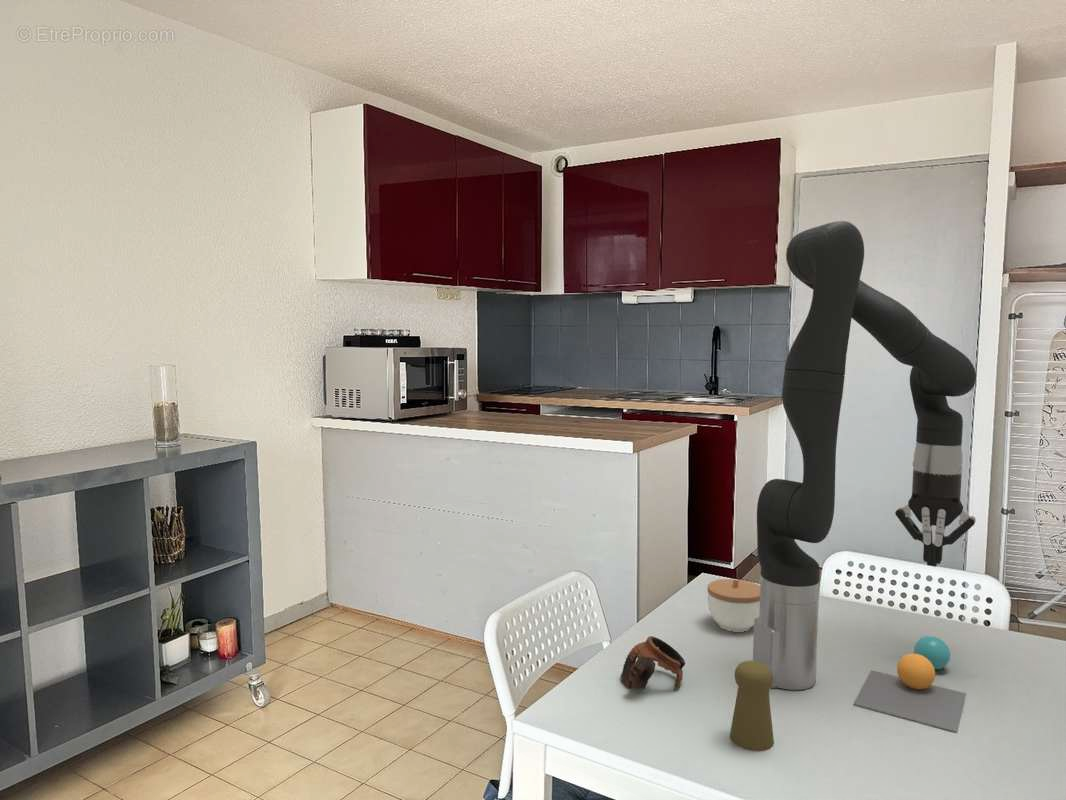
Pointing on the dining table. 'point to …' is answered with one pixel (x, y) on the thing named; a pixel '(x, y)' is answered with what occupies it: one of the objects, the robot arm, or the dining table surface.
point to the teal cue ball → (933, 651)
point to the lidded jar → (734, 603)
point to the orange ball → (916, 671)
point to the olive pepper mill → (752, 707)
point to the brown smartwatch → (651, 662)
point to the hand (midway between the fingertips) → (932, 564)
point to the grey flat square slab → (912, 701)
